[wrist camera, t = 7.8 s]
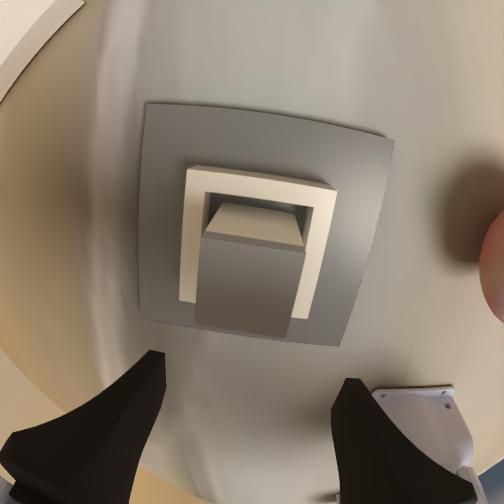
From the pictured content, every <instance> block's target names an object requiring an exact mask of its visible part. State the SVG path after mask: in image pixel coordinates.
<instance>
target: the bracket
mask: <svg viewBox="0 0 504 504" xmlns="http://www.w3.org/2000/svg"><path fill="white" fill-rule="evenodd" d="M84 3H85V2H84V0H0V102H1V100H2V99H3V97H4V96H5V94H6V93H7V91H8V90H9V88H10V87H11V86H12V84H13V83H14V81H15V80H16V79H17V77H18V76H19V75H20V73H21V72H22V71H23V69H24V68H25V67H26V66H27V64H28V63H29V62H30V61H31V59H32V58H33V57H34V56H35V54H36V53H37V52H38V51H39V50H40V49H41V47H42V46H43V45H44V44H45V43H46V42H47V41H48V39H49V38H50V37H51V36H52V35H53V34H54V33H55V32H56V31H57V30H58V29H59V28H60V27H61V25H62V24H63V23H64V22H65V21H66V20H67V19H68V18H69V17H70V16H71V15H72V14H73V13H75V12H76V11H77V10H78V9H79V8H80V7H81V6H82V5H83V4H84Z"/></svg>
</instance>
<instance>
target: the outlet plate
mask: <svg viewBox="0 0 504 504" xmlns="http://www.w3.org/2000/svg"><path fill="white" fill-rule="evenodd" d="M394 141H395V140H392V139H388V138H385V137H381V136H377V135H373V134H370V133H366V132H362V131H357V130H353V129H349V128H345V127H340V126H336V125H331V124H326V123H321V122H316V121H311V120H306V119H300V118H294V117H288V116H282V115H276V114H269V113H262V112H254V111H246V110H238V109H228V108H218V107H206V106H191V105H171V104H147V107H146V115H145V124H144V134H143V145H142V157H141V172H140V191H139V222H138V265H139V297H140V315H141V318H145V319H150V320H155V321H160V322H165V323H170V324H175V325H181V326H186V327H192V328H197V329H203V330H209V331H215V332H221V333H228V334H234V335H241V336H248V337H255V338H263V339H271V340H279V341H287V342H296V343H306V344H316V345H326V346H338V347H339V346H340V343H341V340H342V337H343V334H344V332H345V329H346V326H347V323H348V320H349V317H350V314H351V311H352V308H353V305H354V302H355V299H356V296H357V293H358V290H359V287H360V283H361V280H362V277H363V273H364V270H365V267H366V263H367V260H368V256H369V252H370V249H371V245H372V241H373V238H374V234H375V230H376V226H377V222H378V218H379V214H380V210H381V205H382V201H383V197H384V192H385V188H386V183H387V178H388V173H389V168H390V163H391V158H392V152H393V147H394ZM223 202H225V203H232V204H239V205H245V206H252V207H258V208H265V209H271V210H277V211H283V212H289V213H294V214H295V217H296V221H297V224H298V227H299V231H300V234H301V238H302V241H303V244H304V248H305V251H306V257H305V262H304V266H303V270H302V274H301V279H300V283H299V287H298V291H297V295H296V299H295V303H294V307H293V311H292V315H291V319H290V323H289V327H288V331H287V335H286V338H280V337H272V336H265V335H258V334H251V333H244V332H238V331H231V330H225V329H219V328H213V327H208V326H202V325H196V324H194V319H195V303H196V289H197V276H198V263H199V252H200V241H201V236H202V235H203V233H204V231H205V230H206V228H207V227H208V225H209V224H210V222H211V220H212V219H213V217H214V216H215V214H216V212H217V211H218V209H219V208H220V206H221V205H222V203H223Z"/></svg>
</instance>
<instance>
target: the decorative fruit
mask: <svg viewBox="0 0 504 504" xmlns="http://www.w3.org/2000/svg"><path fill="white" fill-rule="evenodd" d="M479 274H480V282H481V287H482V291H483V294H484V297H485V299H486V302H487V304H488V306H489V307H490V309H491V311H492V312H493V314H494V315H495V316H496V317H497V318H498V319H499V320H500V321H501V322H503V323H504V210H503V211H502V212H501V213H500V215H499V216H498V217H497V218H496V219H495V220H494V221H493V223H492V224H491V226H490V227H489V229H488V231H487V233H486V235H485V238H484V241H483V244H482V248H481V253H480V260H479Z"/></svg>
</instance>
